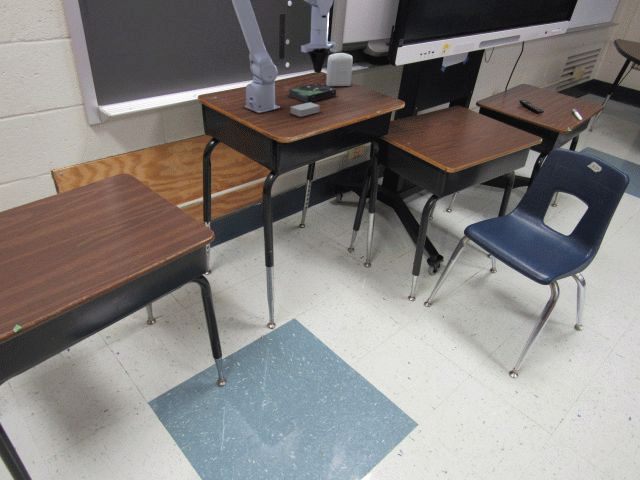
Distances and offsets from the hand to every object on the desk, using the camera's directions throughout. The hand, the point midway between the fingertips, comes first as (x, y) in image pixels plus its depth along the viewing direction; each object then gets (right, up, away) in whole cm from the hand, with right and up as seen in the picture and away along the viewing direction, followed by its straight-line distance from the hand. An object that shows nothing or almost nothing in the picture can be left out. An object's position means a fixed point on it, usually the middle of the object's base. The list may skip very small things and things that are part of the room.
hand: (317, 72), depth 157 cm
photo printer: (+8, +4, +26) cm, 28 cm away
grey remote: (-1, -13, -3) cm, 13 cm away
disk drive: (-2, -5, +12) cm, 13 cm away
